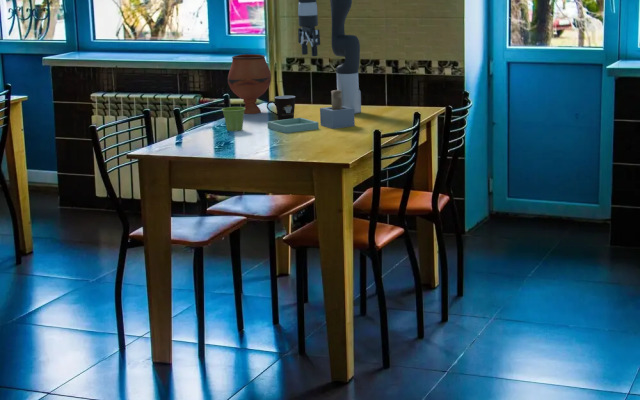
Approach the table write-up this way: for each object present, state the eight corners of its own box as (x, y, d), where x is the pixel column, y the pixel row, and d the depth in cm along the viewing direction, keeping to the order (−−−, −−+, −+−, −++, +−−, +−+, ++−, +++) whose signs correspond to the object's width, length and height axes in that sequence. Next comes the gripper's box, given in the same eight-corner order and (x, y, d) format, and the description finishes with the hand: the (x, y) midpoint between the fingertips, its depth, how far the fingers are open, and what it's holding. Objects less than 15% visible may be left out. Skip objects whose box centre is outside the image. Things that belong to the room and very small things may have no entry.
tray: (300, 123, 423) (300, 117, 423) (318, 128, 410) (318, 122, 410) (267, 128, 416) (267, 121, 416) (285, 133, 403) (284, 126, 403)
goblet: (243, 117, 445) (240, 59, 439) (221, 112, 460) (218, 56, 454) (281, 112, 455) (278, 55, 449) (259, 107, 470) (256, 52, 464)
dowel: (339, 124, 419) (338, 89, 416) (344, 125, 415) (343, 90, 412) (330, 125, 417) (329, 90, 414) (335, 126, 414) (334, 91, 410)
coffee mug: (297, 119, 435) (296, 95, 433) (295, 122, 427) (294, 98, 425) (270, 119, 437) (268, 95, 434) (267, 123, 428) (265, 98, 426)
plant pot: (242, 132, 409) (241, 110, 407) (219, 132, 411) (218, 110, 409) (249, 128, 418) (248, 106, 416) (226, 128, 420) (225, 106, 418)
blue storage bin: (341, 122, 423) (341, 105, 421) (354, 125, 414) (354, 108, 413) (320, 125, 418) (319, 108, 416) (332, 128, 410) (332, 111, 408)
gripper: (324, 14, 404) (326, 55, 408) (308, 12, 416) (309, 53, 420) (307, 15, 401) (309, 57, 405) (291, 13, 413) (293, 54, 417)
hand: (309, 55), depth 413 cm, fingers open, 8 cm apart
